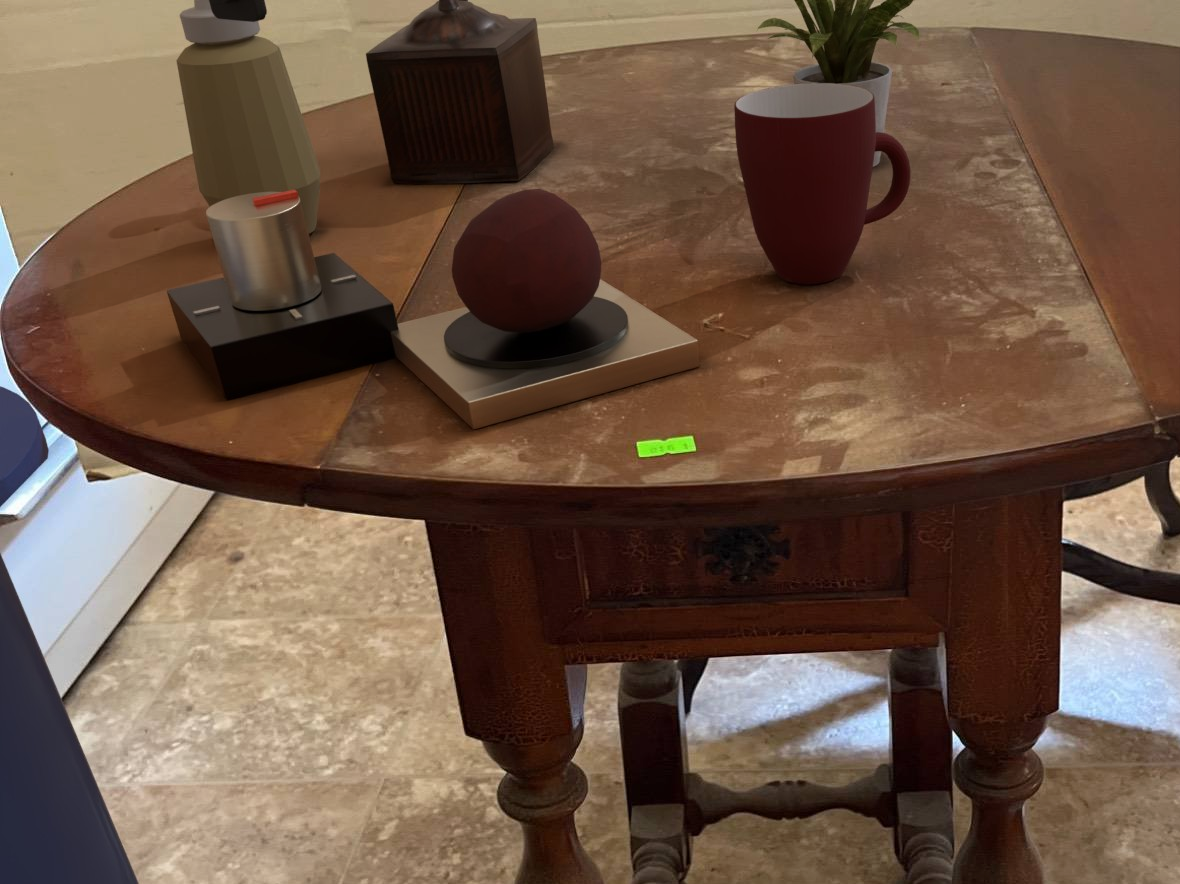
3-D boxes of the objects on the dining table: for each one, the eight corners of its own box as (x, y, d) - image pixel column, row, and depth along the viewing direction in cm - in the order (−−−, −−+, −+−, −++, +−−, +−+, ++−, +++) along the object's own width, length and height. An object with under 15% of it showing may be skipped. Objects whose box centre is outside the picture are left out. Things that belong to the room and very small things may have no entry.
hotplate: (473, 430, 74) (466, 394, 73) (390, 352, 83) (383, 319, 82) (700, 366, 79) (697, 332, 78) (597, 299, 88) (593, 268, 87)
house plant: (731, 200, 103) (712, -63, 93) (731, 146, 114) (715, -94, 104) (935, 187, 102) (938, -79, 93) (916, 134, 113) (916, -108, 104)
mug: (866, 235, 95) (863, 69, 89) (937, 268, 89) (939, 93, 83) (721, 270, 91) (709, 99, 85) (786, 307, 85) (777, 126, 79)
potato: (432, 342, 79) (405, 210, 75) (536, 291, 84) (516, 166, 80) (535, 366, 75) (514, 228, 71) (637, 311, 81) (622, 180, 77)
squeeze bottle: (197, 256, 99) (112, -41, 89) (236, 219, 106) (161, -62, 95) (314, 251, 99) (242, -49, 88) (346, 214, 105) (283, -70, 95)
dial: (243, 318, 80) (216, 220, 77) (221, 293, 84) (194, 198, 81) (332, 297, 82) (309, 200, 79) (307, 273, 86) (284, 180, 82)
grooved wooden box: (560, 142, 118) (525, -116, 107) (521, 182, 109) (478, -93, 98) (378, 145, 120) (326, -106, 110) (325, 185, 112) (262, -83, 101)
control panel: (226, 400, 79) (209, 343, 77) (181, 339, 87) (165, 287, 85) (404, 355, 83) (392, 300, 81) (345, 301, 90) (333, 249, 89)
